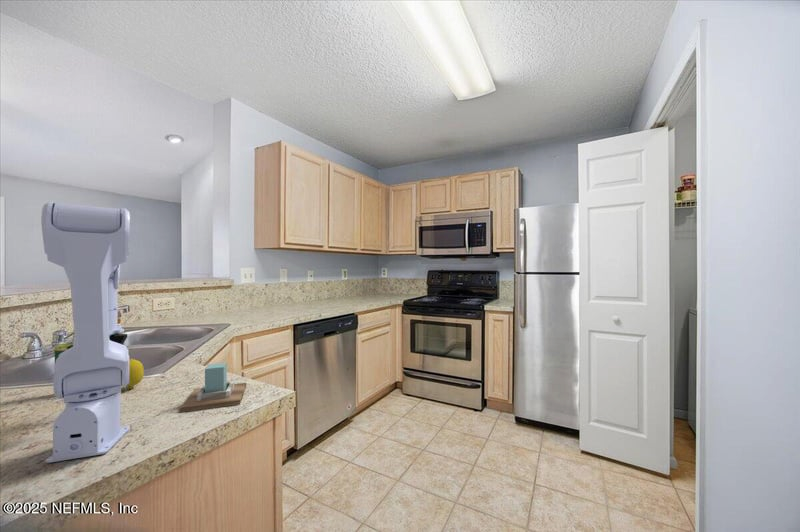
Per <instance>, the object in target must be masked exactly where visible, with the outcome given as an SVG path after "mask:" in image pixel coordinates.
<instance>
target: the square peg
mask: <svg viewBox="0 0 800 532" xmlns="http://www.w3.org/2000/svg"><path fill="white" fill-rule="evenodd" d="M227 364H228V362H219V363H218V362H217V363H208V365H206V367H205V368H204V385H205V393H208V392H217V391H225V390H227V381H228V373H227V372H228V370H227V369H228V365H227Z"/></svg>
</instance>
